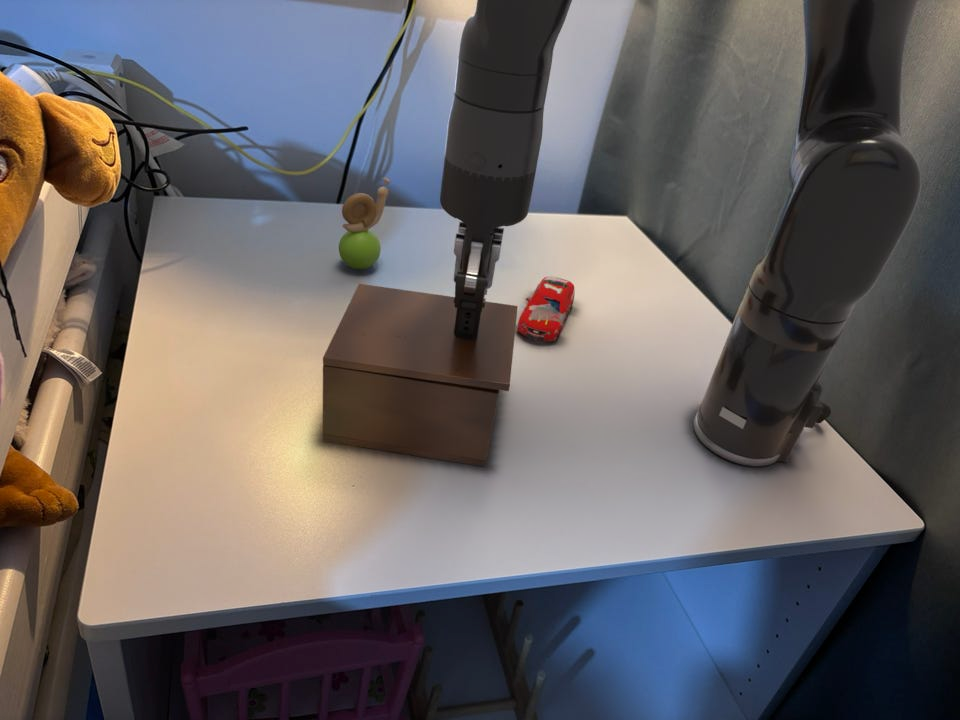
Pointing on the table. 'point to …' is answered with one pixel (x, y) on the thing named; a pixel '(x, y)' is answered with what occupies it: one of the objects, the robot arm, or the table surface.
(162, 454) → the table surface
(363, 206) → the snail figurine
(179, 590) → the table surface
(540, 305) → the race car
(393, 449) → the chest
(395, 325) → the lid
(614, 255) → the table surface
